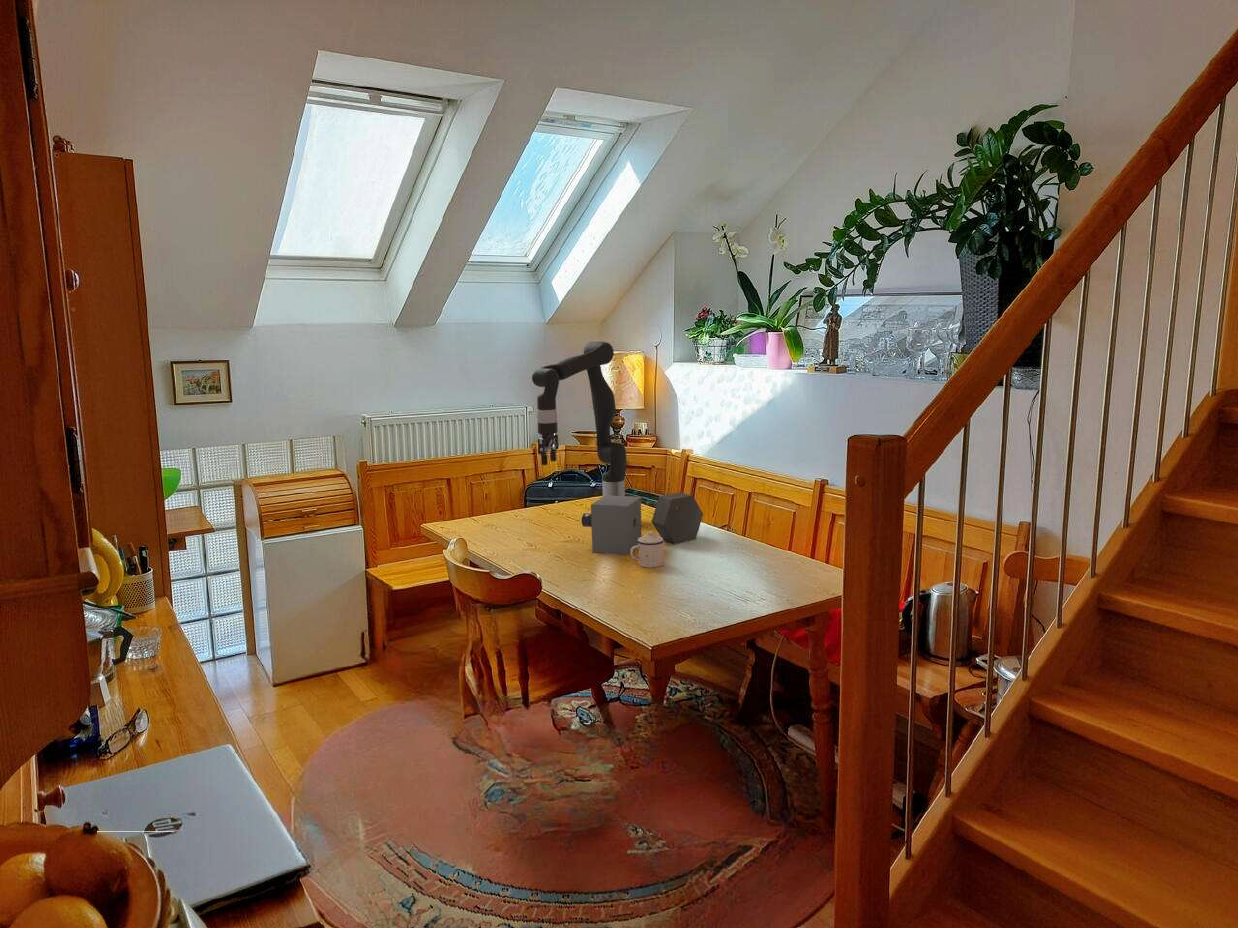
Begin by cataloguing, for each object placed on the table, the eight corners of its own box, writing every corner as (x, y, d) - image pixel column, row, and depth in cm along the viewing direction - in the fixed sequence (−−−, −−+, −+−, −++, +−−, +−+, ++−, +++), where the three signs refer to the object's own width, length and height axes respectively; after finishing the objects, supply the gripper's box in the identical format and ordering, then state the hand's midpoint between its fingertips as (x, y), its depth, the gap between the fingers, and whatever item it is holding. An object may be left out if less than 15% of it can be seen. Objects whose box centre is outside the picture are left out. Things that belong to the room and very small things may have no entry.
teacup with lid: (658, 559, 304) (657, 527, 302) (668, 566, 296) (667, 533, 294) (626, 563, 301) (625, 531, 299) (635, 570, 292) (634, 537, 290)
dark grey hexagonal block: (696, 520, 339) (673, 481, 329) (709, 524, 333) (686, 484, 323) (668, 549, 332) (644, 511, 323) (681, 554, 326) (657, 514, 317)
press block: (606, 541, 330) (605, 495, 327) (641, 543, 326) (640, 496, 323) (592, 552, 315) (590, 504, 312) (628, 554, 311) (627, 506, 308)
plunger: (586, 524, 326) (586, 511, 325) (634, 527, 320) (634, 514, 319) (581, 527, 321) (581, 514, 320) (630, 530, 315) (629, 517, 314)
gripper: (548, 423, 319) (550, 466, 322) (563, 418, 333) (565, 460, 335) (530, 423, 322) (532, 466, 325) (545, 418, 335) (547, 459, 338)
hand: (549, 463), depth 330 cm, fingers open, 8 cm apart
